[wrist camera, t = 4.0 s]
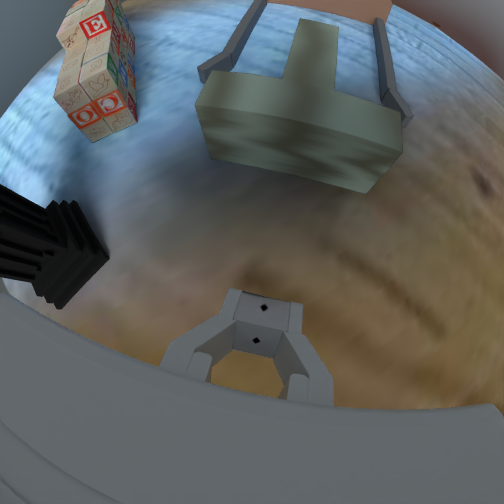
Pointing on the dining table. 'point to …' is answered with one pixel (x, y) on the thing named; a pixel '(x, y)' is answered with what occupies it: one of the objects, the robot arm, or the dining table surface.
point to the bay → (341, 3)
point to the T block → (300, 118)
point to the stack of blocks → (97, 68)
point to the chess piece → (47, 246)
